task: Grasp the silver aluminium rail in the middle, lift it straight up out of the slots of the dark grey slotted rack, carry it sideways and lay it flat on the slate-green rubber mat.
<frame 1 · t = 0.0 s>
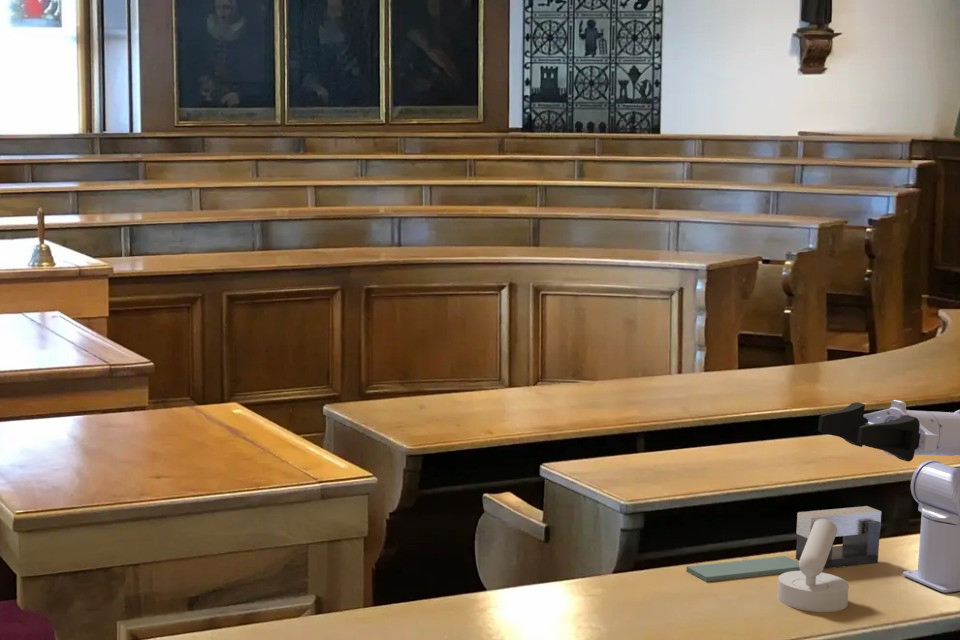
hand: (839, 429, 160), 22 cm above the table, tool horizontal, fingers open, 7 cm apart
dark grey slotted rack: (836, 560, 179), on the table
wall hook: (813, 600, 162), on the table
rubber mat: (746, 570, 173), on the table
silver rail: (838, 532, 178), point 4 cm above the table, touching dark grey slotted rack
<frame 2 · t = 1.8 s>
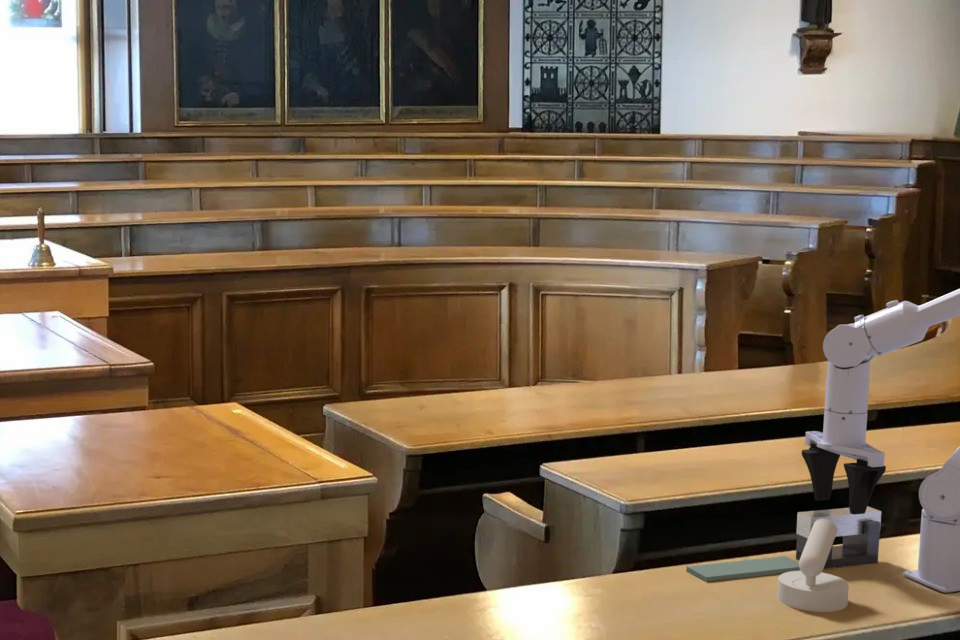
hand: (839, 506, 178), 8 cm above the table, tool pointing down, fingers open, 7 cm apart
nothing on the table moved.
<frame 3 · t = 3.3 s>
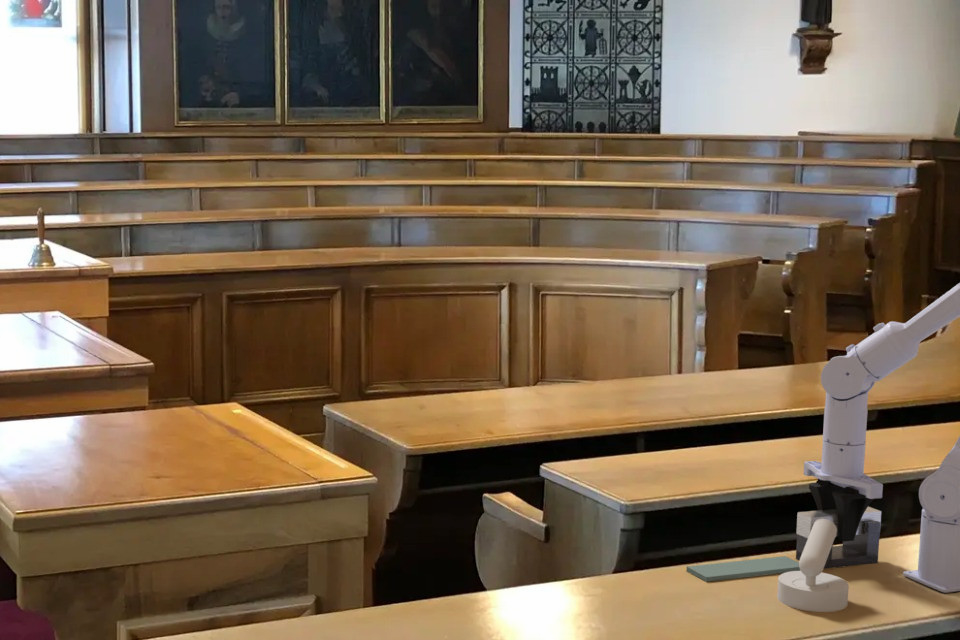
hand: (838, 537, 178), 3 cm above the table, tool pointing down, fingers closed on silver rail, 3 cm apart
silver rail: (838, 532, 178), point 4 cm above the table, touching gripper, dark grey slotted rack
everything else where it was.
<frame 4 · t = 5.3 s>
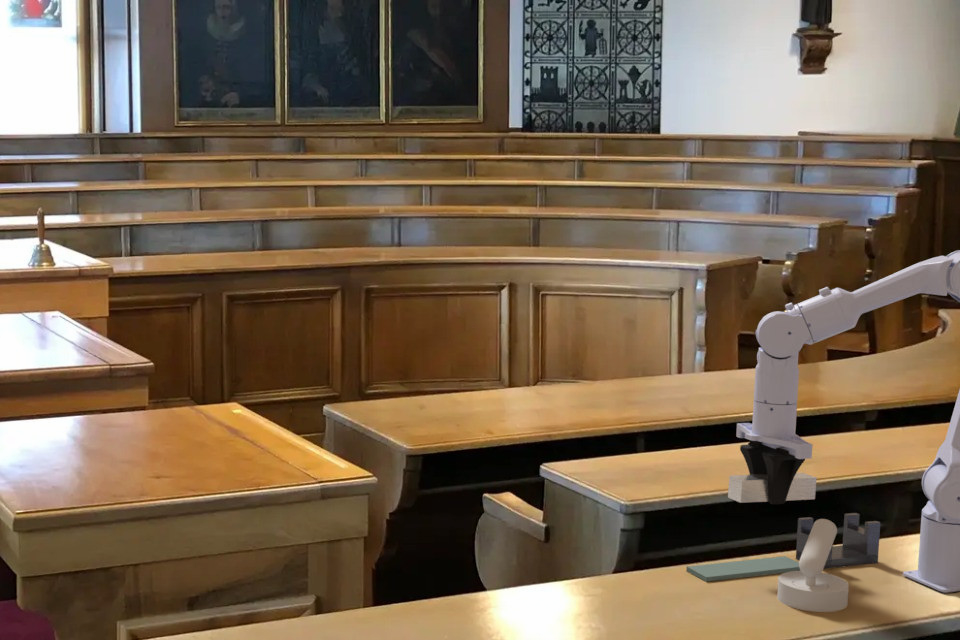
hand: (769, 500, 173), 10 cm above the table, tool pointing down, fingers closed on silver rail, 3 cm apart
silver rail: (771, 498, 173), point 10 cm above the table, touching gripper
everything else where it was.
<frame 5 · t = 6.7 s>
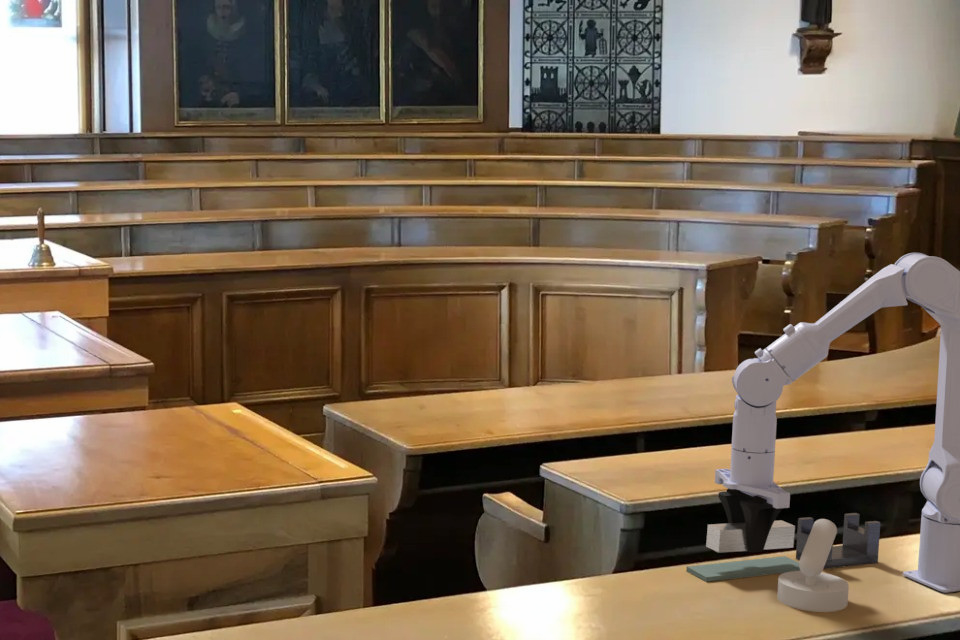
hand: (747, 547, 172), 3 cm above the table, tool pointing down, fingers closed on silver rail, 3 cm apart
silver rail: (749, 547, 172), point 3 cm above the table, touching gripper
everything else where it was.
when the fingers open (2 cm above the table, at t = 7.7 s): silver rail drops 2 cm, resting on rubber mat.
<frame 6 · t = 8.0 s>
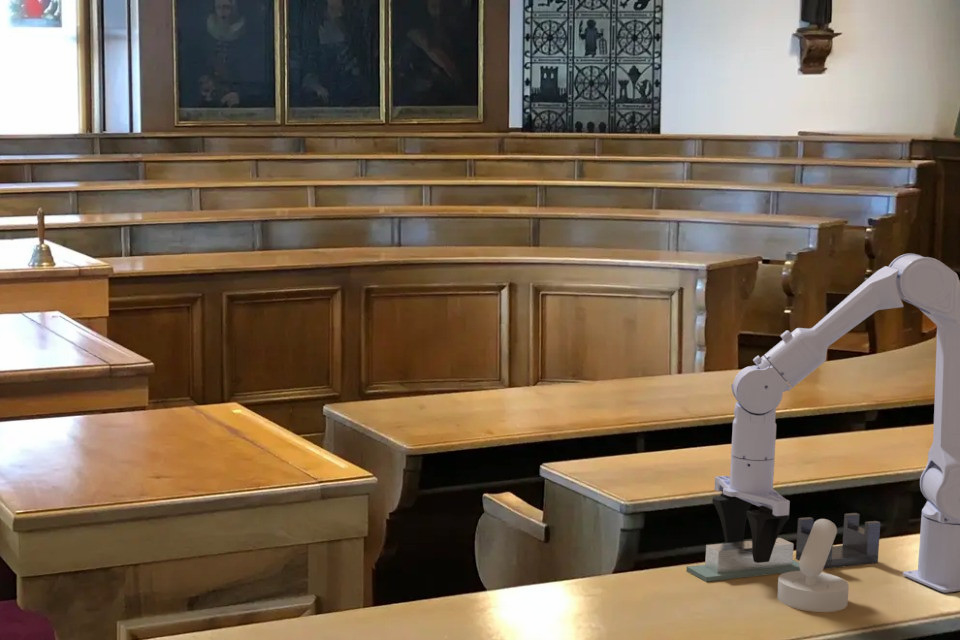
hand: (747, 554, 172), 2 cm above the table, tool pointing down, fingers open, 6 cm apart
silver rail: (748, 566, 173), point 1 cm above the table, touching rubber mat
everything else where it was.
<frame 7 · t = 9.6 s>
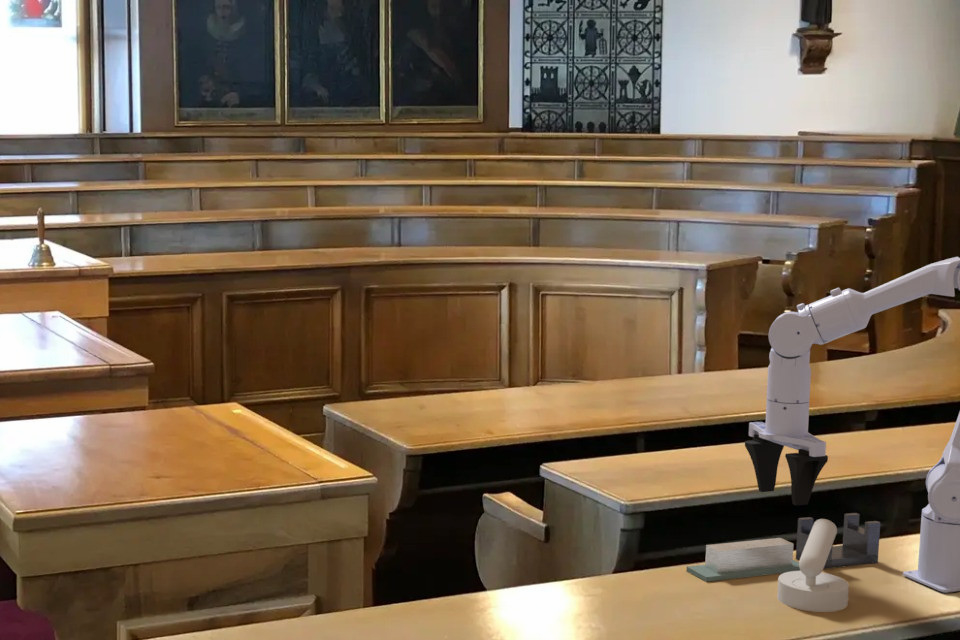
hand: (782, 497, 176), 9 cm above the table, tool pointing down, fingers open, 7 cm apart
nothing on the table moved.
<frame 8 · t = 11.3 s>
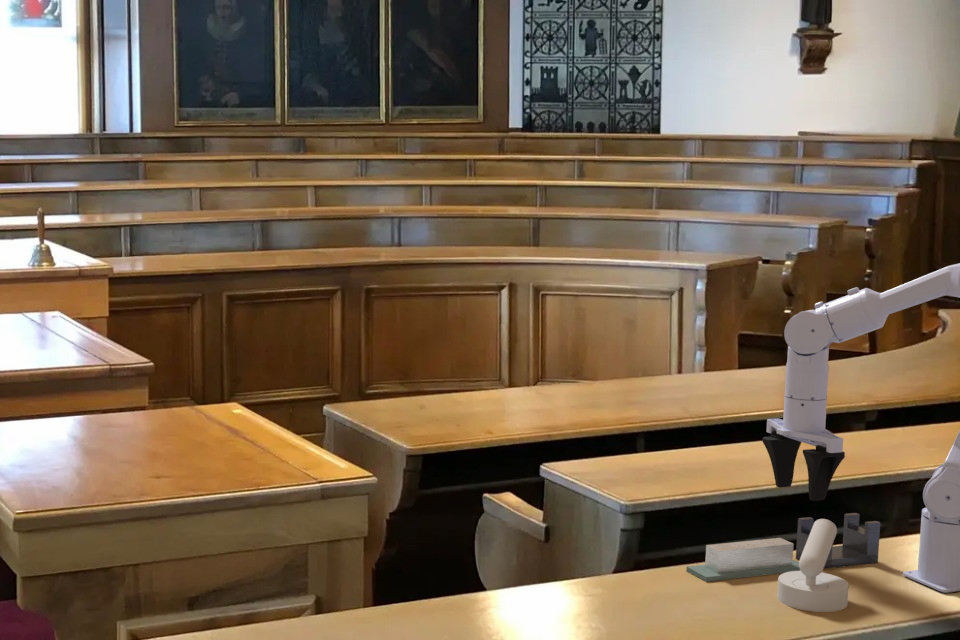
hand: (800, 493, 178), 9 cm above the table, tool pointing down, fingers open, 7 cm apart
nothing on the table moved.
at the end: silver rail 0.4 cm off-centre on the rubber mat, point 0.6 cm above the rubber mat's base; silver rail tilted 0°; the gripper is holding nothing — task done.
